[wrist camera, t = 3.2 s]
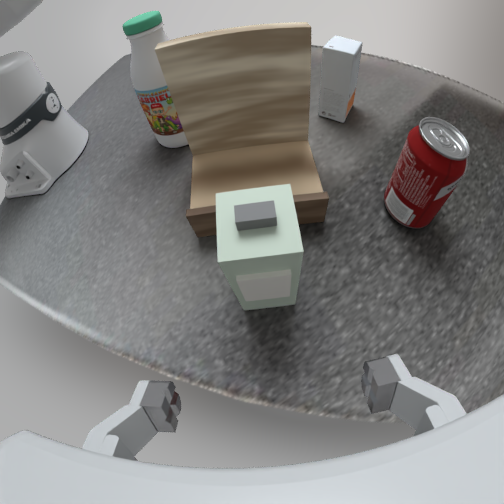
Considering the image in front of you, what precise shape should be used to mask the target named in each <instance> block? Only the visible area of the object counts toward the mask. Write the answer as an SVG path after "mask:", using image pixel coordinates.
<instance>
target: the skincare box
mask: <svg viewBox="0 0 504 504" xmlns="http://www.w3.org/2000/svg"><path fill="white" fill-rule="evenodd" d="M361 50H362V42H359V41H356V40H351V39H348V38H344V37H340V36H334V37H333V38H332V39H331V40H329V41H328V43H327V44H326V45H325V46H324V47H323V52H322V70H321V85H320V98H319V110H318V115H320V116H323V117H326V118H329V119H333V120H336V121H339V122H342V123H344V122H345V119H346V117H347V115H348V113H349V111H350V109H351V107H352V106H353V102H354V96H355V90H356V84H357V78H358V71H359V64H360V57H361Z"/></svg>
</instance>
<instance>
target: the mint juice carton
mask: <svg viewBox="0 0 504 504" xmlns="http://www.w3.org/2000/svg"><path fill="white" fill-rule="evenodd" d="M216 228H217V255H218V264H219V265H220V267H221V269H222V271H223V273H224V275H225V277H226V278H227V280H228V282H229V284H230V286H231V288H232V290H233V291H234V293H235V295H236V297H237V299H238V301H239V302H240V304H241V306H242V308H243V310H253V309H262V308H271V307H279V306H287V305H295V304H296V297H297V291H298V285H299V279H300V272H301V266H302V259H303V252H304V251H303V246H302V241H301V235H300V230H299V225H298V220H297V214H296V209H295V205H294V200H293V195H292V190H291V185H290V184H284V185H275V186H267V187H259V188H251V189H244V190H236V191H229V192H222V193H216Z"/></svg>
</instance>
